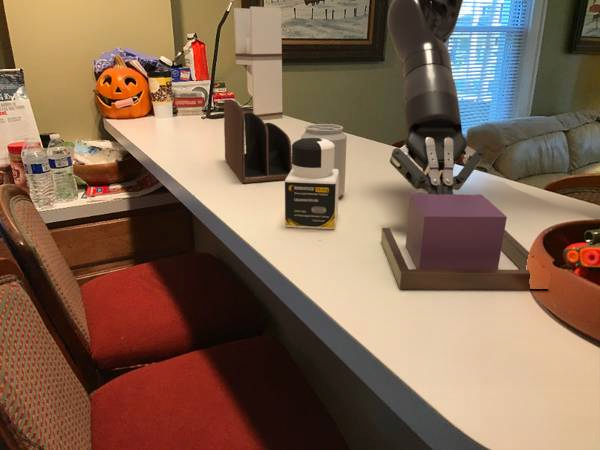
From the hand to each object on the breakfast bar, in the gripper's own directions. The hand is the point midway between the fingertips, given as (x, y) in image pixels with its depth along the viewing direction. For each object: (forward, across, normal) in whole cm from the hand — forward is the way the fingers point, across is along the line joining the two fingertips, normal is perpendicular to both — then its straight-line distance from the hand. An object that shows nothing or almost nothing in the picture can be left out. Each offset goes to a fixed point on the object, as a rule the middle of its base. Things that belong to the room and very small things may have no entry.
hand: (443, 215), depth 61 cm
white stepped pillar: (-74, -34, +81) cm, 115 cm away
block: (+6, 0, 0) cm, 6 cm away
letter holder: (-24, -28, +30) cm, 48 cm away
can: (-11, -15, +18) cm, 26 cm away
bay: (+7, 0, -2) cm, 7 cm away
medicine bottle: (-3, -17, +9) cm, 19 cm away
